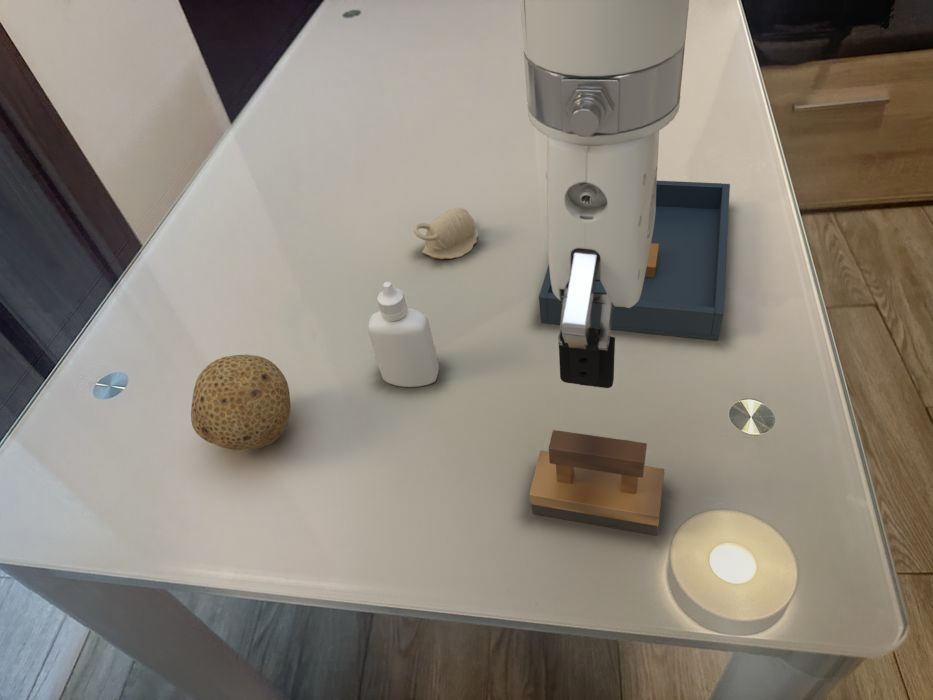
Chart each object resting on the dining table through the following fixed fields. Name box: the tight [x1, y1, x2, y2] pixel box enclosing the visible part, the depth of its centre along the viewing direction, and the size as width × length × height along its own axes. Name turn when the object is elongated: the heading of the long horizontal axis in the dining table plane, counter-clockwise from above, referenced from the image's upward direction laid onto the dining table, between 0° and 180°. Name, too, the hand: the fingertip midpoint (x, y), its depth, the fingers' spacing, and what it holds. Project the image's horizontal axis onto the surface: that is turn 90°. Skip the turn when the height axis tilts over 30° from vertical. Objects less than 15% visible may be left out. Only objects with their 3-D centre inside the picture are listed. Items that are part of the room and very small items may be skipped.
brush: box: [528, 429, 665, 536], centre depth 55 cm, size 10×4×8 cm, turn 74°
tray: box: [538, 180, 731, 341], centre depth 77 cm, size 18×22×4 cm
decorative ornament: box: [413, 207, 479, 260], centre depth 82 cm, size 4×8×5 cm, turn 122°
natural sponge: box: [190, 354, 292, 452], centre depth 64 cm, size 9×9×10 cm
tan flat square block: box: [645, 243, 659, 278], centre depth 77 cm, size 4×4×2 cm
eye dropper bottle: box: [367, 281, 440, 388], centre depth 67 cm, size 4×6×12 cm
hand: (599, 327), depth 47 cm, fingers open, 9 cm apart
